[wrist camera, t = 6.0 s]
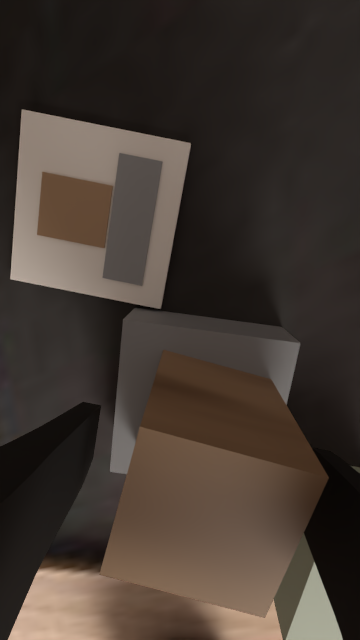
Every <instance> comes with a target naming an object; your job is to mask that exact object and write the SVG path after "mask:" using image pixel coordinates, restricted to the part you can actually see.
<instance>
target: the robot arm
mask: <svg viewBox="0 0 360 640" xmlns="http://www.w3.org/2000/svg"><path fill="white" fill-rule="evenodd" d="M100 408H101V405H96V404H91V403H86V402H82V403H80V404H78V405H77V406H75V407H73V408H72V409H70V410H68V411H67V412H65V413H63V414H62V415H60V416H58V417H57V418H55V419H53V420H51V421H49V422H48V423H46V424H44V425H42V426H41V427H39V428H37V429H35V430H33V431H31V432H29V433H27V434H25V435H23V436H21V437H19V438H17V439H15V440H13V441H11V442H9V443H7V444H5V445H3V446H0V640H8V638H9V635H10V633H11V630H12V628H13V626H14V623H15V621H16V619H17V616H18V614H19V612H20V609H21V607H22V605H23V602H24V600H25V598H26V596H27V593H28V591H29V589H30V586H31V584H32V582H33V579H34V577H35V575H36V573H37V571H38V569H39V567H40V565H41V563H42V561H43V559H44V557H45V555H46V553H47V551H48V549H49V547H50V545H51V543H52V542H53V540H54V538H55V536H56V534H57V532H58V530H59V529H60V527H61V525H62V523H63V521H64V519H65V517H66V516H67V514H68V512H69V510H70V508H71V506H72V504H73V502H74V501H75V499H76V497H77V495H78V493H79V491H80V489H81V487H82V485H83V482H84V480H85V478H86V475H87V473H88V470H89V467H90V465H91V462H92V460H93V455H94V449H95V442H96V435H97V429H98V422H99V415H100ZM312 450H313V451H314V453H315V455H316V457H317V458H318V460H319V462H320V463H321V465H322V467H323V469H324V470H325V472H326V474H327V475H328V477H329V479H328V481H327V483H326V485H325V487H324V490H323V492H322V494H321V496H320V498H319V500H318V503H317V505H316V507H315V509H314V511H313V514H312V516H311V518H310V520H309V522H308V525H307V527H306V529H305V531H304V535H305V538H306V540H307V543H308V546H309V549H310V551H311V554H312V557H313V559H314V562H315V565H316V567H317V570H318V572H319V575H320V578H321V580H322V583H323V586H324V588H325V591H326V593H327V596H328V599H329V601H330V604H331V607H332V609H333V612H334V615H335V617H336V620H337V623H338V626H339V629H340V632H341V635H342V638H343V640H360V473H359V472H358V471H356V470H355V469H354V468H352V467H351V466H350V465H349V464H347V463H346V462H345V461H343V460H342V459H341V458H339V457H338V456H337V455H335V454H334V453H332V452H331V451H326V450H321V449H316V448H312Z"/></svg>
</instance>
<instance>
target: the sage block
mask: <svg viewBox="0 0 360 640" xmlns="http://www.w3.org/2000/svg"><path fill="white" fill-rule="evenodd" d="M351 467H352V468H354V469H355V470H356V471H358V472H359V473H360V467H355V466H351ZM274 602H275V607H276V611H277V616H278V620H279V624H280V629H281V633H282V637H283V640H343V638H342V635H341V632H340V629H339V626H338V623H337V620H336V617H335V615H334V612H333V609H332V607H331V604H330V601H329V599H328V596H327V593H326V591H325V588H324V586H323V583H322V580H321V578H320V575H319V572H318V570H317V567H316V565H315V562H314V559H313V557H312V554H311V551H310V549H309V546H308V543H307V540H306V538H305V535H304V533H303V536H302V538H301V540H300V542H299V544H298V547H297V549H296V551H295V553H294V555H293V557H292V560H291V562H290V564H289V566H288V568H287V571H286V573H285V575H284V577H283V579H282V582H281V584H280V586H279V588H278V590H277V593H276V595H275V597H274Z"/></svg>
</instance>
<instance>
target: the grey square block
mask: <svg viewBox="0 0 360 640" xmlns="http://www.w3.org/2000/svg"><path fill="white" fill-rule="evenodd" d="M299 348H300V342H299V341H297V340H296V339H295V338H294V337H293V336H292V335H291V334H290V333H288V332H287V331H286V330H285V329H284V328H283V327H278V326H271V325H263V324H256V323H248V322H241V321H233V320H226V319H218V318H211V317H203V316H196V315H188V314H181V313H173V312H166V311H158V310H151V309H143V308H136V307H135V308H134V309H133V310H132V311H131V312H130V313H129V314H128V315H127V316H126V317H125V318H124V319H123V326H122V337H121V349H120V360H119V372H118V384H117V395H116V407H115V418H114V430H113V441H112V453H111V464H110V472H116V473H123V474H127V472H128V468H129V465H130V461H131V457H132V454H133V450H134V446H135V443H136V439H137V435H138V432H139V428H140V425H141V421H142V418H143V415H144V412H145V408H146V405H147V402H148V399H149V395H150V392H151V389H152V385H153V382H154V379H155V376H156V372H157V369H158V366H159V363H160V359H161V356H162V353H163V350H167V351H170V352H174V353H178V354H181V355H185V356H188V357H192V358H196V359H199V360H203V361H207V362H210V363H214V364H218V365H221V366H225V367H228V368H232V369H236V370H239V371H243V372H247V373H250V374H254V375H257V376H261V377H265V378H268V379H271V380H272V381H273V383H274V385H275V386H276V388H277V390H278V392H279V393H280V395H281V397H282V398H283V400H284V402H285V404H286V405H287V401H288V396H289V392H290V388H291V383H292V379H293V374H294V370H295V365H296V361H297V357H298V352H299Z"/></svg>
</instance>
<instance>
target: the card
mask: <svg viewBox="0 0 360 640" xmlns="http://www.w3.org/2000/svg"><path fill="white" fill-rule="evenodd" d="M190 149H191V143H187V142H182V141H177V140H172V139H167V138H162V137H157V136H152V135H147V134H142V133H137V132H132V131H127V130H122V129H118V128H113V127H108V126H103V125H98V124H93V123H88V122H83V121H78V120H73V119H68V118H63V117H58V116H53V115H48V114H43V113H38V112H33V111H28V110H23V109H22V113H21V128H20V143H19V158H18V173H17V188H16V203H15V217H14V232H13V247H12V262H11V277H10V279H12V280H17V281H22V282H27V283H32V284H37V285H42V286H47V287H52V288H57V289H62V290H67V291H72V292H77V293H82V294H87V295H92V296H97V297H102V298H107V299H112V300H117V301H122V302H127V303H132V304H137V305H142V306H147V307H152V308H157V309H161V306H162V301H163V296H164V290H165V285H166V279H167V274H168V268H169V263H170V257H171V252H172V247H173V241H174V236H175V230H176V225H177V219H178V214H179V208H180V203H181V198H182V192H183V187H184V181H185V176H186V170H187V165H188V159H189V154H190Z"/></svg>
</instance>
